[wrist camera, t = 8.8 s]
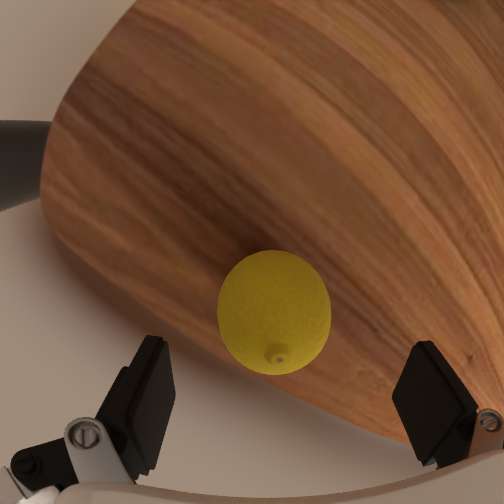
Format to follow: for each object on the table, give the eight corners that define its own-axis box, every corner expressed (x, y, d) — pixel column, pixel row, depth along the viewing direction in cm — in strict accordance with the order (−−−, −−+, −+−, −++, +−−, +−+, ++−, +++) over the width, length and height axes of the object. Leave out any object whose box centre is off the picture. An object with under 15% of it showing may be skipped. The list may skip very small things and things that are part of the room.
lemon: (330, 261, 18) (378, 335, 10) (281, 326, 19) (295, 419, 12) (254, 214, 17) (255, 269, 9) (208, 289, 18) (183, 376, 11)
